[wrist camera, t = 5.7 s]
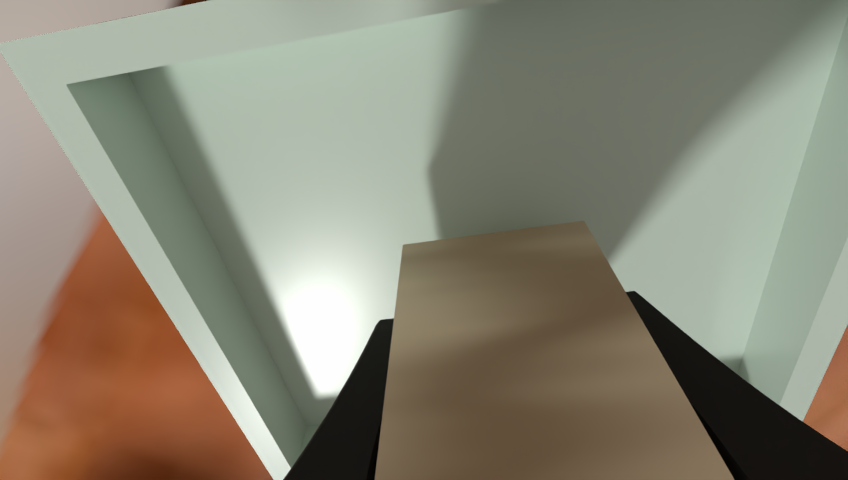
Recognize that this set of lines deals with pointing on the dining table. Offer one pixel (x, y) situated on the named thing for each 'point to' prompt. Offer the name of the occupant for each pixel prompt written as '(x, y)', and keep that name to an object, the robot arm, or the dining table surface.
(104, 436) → the dining table surface
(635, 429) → the maple block
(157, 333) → the dining table surface
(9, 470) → the dining table surface
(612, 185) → the sorting tray
